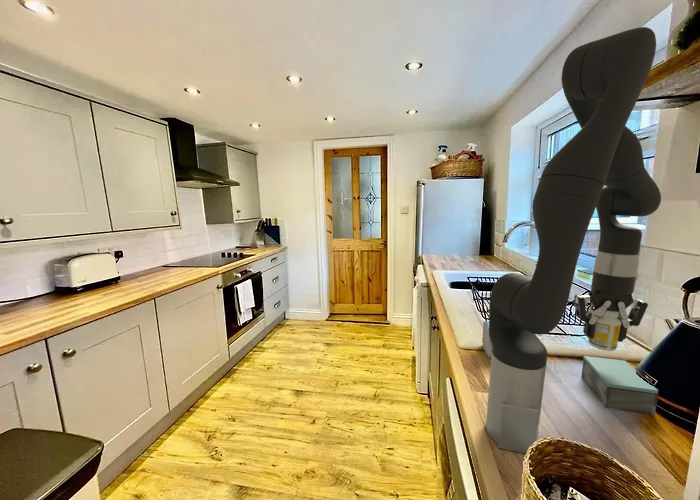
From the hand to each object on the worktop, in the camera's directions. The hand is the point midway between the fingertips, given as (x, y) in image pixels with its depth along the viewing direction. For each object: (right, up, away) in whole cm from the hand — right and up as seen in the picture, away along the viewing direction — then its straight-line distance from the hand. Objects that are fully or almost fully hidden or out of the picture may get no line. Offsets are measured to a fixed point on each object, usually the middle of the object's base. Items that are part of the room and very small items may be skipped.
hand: (603, 338), depth 72 cm
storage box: (+3, -14, 0) cm, 14 cm away
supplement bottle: (0, -2, 0) cm, 2 cm away
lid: (+3, -9, -1) cm, 9 cm away
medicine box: (-18, -10, +20) cm, 29 cm away
